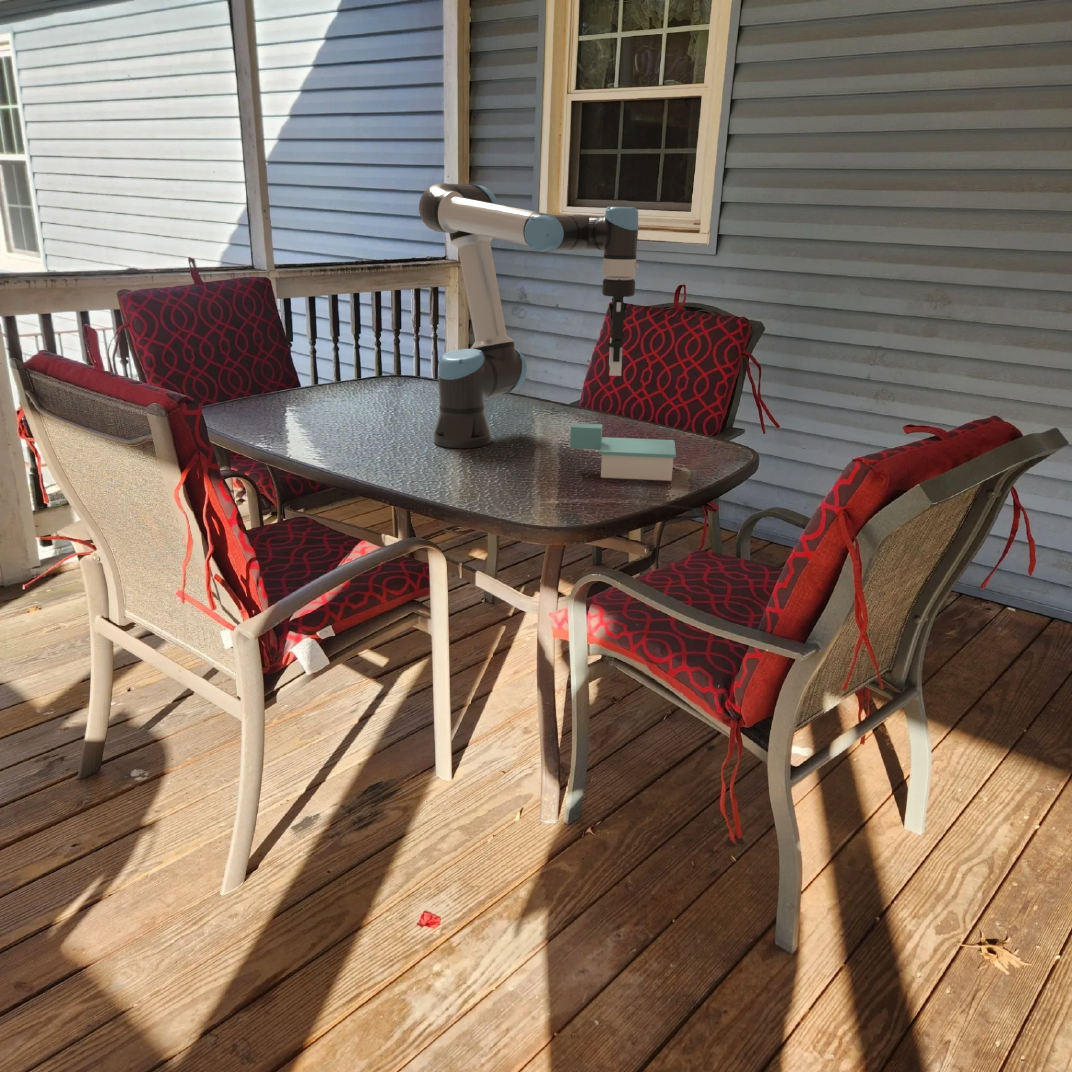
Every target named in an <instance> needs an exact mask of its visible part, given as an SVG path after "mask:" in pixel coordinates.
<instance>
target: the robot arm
mask: <svg viewBox="0 0 1072 1072" xmlns="http://www.w3.org/2000/svg"><path fill="white" fill-rule="evenodd" d="M418 211H419V212H418V213H419V215H420V218H421V221H422V222H423V223H424V224H425V226H426V227H427V228H429V229H430V230H431V231H435V232H438V233H447V234H448V233H449V239H450V244H451V245H453V246H454V247H456V248H457V250H458V255H459V260H460V262H459V263H460V266H461V271H462V276H463V281H464V282H463V283H464V288H465V293H466V298H467V303H468V308H469V314H470V319H471V325H472V330H473V334H474V335H473V336H474V343H473V344H472V345H471V347H470V348H462V349H454V350H450V351H448V352H446V353H443V354H442V355H441V356H440V357H439V360H438V369H437V376H438V397H439V398H438V399H439V415H438V418H437V421H436V424H435V428H434V432H433V443H434V444H435V445H437V446H440V447H442V448H451V449H473V448H480V447H484V446H487V445H489V444H490V443H491V442H492V432H491V429H490V426H489V423H488V420H487V417H486V414H485V399H486V398H490V397H496V396H500V395H507V394H509V393H512V392H515V391H517V390H518V389H519V388H520V387H522V385H523V383H524V381H525V380H526V377H527V373H528V365H527V360H526V358H525V355H524V354H523V353H522V352H521V351H520V350H519V349H517V348H516V347H515V343H514V342H515V341H514V339H512V338H511V337H509V335H507V329H506V324H505V318H504V317H505V316H504V313H503V308H502V307H503V306H502V301H501V295H500V291H499V290H500V289H499V285H498V284H499V283H498V279H497V274H496V268H495V267H496V266H495V262H494V256H493V252H492V247H491V246H492V245H491V242H492V241H493V239H496V240H501V241H506V242H510V243H516V244H520V245H524V246H528V247H529V248H531V249H532V250H534V251H537V252H545V253H548V252H552V251H553V252H555V251H577V250H578V251H579V250H581V251H582V250H588V251H590V250H591V251H592V250H595V251H603V259H602V261H603V263H602V276H603V277H604V278H603V280H602V289H601V290H602V292H601V293H602V295H603V296H604V297H612V298H611V303H609V304H608V306H609V308H608V309H609V321H610V331H609V333H610V335H609V336H610V338H609V342H608V344H607V348H609V352H608V353H609V356H608V357H609V359H608V366H609V373H608V374H609V376H611V377H612V376H613V377H615V376H617V377H618V376H619V377H621V376H622V367H623V365H622V364H623V345H624V340H623V339H624V337H625V336H624V324H625V322H626V312H627V303H625V302H624V297H626V298H630V297H633V296H635V294H636V293H635V292H636V290H635V289H636V280H635V279H634V278H635V277H636V268H639V266H640V265H639V263H637V252H638V251H637V250H638V239H639V238H638V235H639V228H640V227H639V211H638V209H637V207H634V206H607V207H606V209H605V213H604V215H588V214H587V215H585V214H583V215H582V214H569V215H567V214H565V215H561V214H560V215H559V214H558V215H557V214H549V213H544V212H538V211H534V210H527V209H523V208H517V207H514V206H513V207H512V206H509V205H507V206H506V205H503V204H499V202H498V200H497V198H496V196H495V194H494V193H493V192H492V191H491V190H490V189H489V188H487V187H485V186H483V185H480V184H479V185H478V184H475V183H468V184H467V183H447V182H446V183H445V182H442V183H436V184H433V185H431V186H429V187H428V188H427V189H426V190H424V192H423V193H422V195H421V196H420V199H419V203H418Z"/></svg>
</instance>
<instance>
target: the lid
mask: <svg viewBox="0 0 1072 1072" xmlns="http://www.w3.org/2000/svg"><path fill="white" fill-rule="evenodd" d="M570 425H571V426H570V440H569V441H570V442H569V443H570V445H569V448H570V449H578V450H579V449H580V450H596V451H597V450H598V451H599V455H600V456H602V455H615V456H637V457H660V458H673V459H676V456H677V453H676V445H675V440H674V439H655V438H654V439H653V438H634V437H633V438H631V437H612V436H611V437H610V436H609V437H607V436H605V437H604V436H602V434H603V424H602V423H577V422H572V423H571V424H570Z"/></svg>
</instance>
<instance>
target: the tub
mask: <svg viewBox="0 0 1072 1072" xmlns="http://www.w3.org/2000/svg"><path fill="white" fill-rule="evenodd" d="M600 464H601V468H600V478H602V479H603V478H604V479H605V478H606V479H623V480H624V479H625V480H628V479H629V480H650V481H664V482H665V481H667V482H668V481H670V482H671V481H673V480H672V479H673V468H674V467H673V466H674V458H660V457H637V456H615V455H601V463H600Z"/></svg>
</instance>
